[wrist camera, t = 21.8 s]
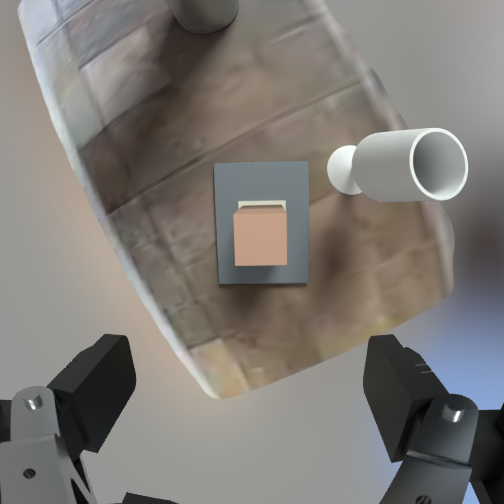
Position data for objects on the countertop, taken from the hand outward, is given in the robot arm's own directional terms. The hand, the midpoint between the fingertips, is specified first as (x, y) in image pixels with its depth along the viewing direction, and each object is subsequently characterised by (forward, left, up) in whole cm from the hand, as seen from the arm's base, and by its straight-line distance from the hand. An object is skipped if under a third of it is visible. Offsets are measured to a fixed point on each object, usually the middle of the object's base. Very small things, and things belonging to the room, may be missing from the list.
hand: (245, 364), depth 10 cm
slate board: (0, 0, -34) cm, 34 cm away
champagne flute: (-7, +12, -34) cm, 37 cm away
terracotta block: (0, 0, -27) cm, 27 cm away
